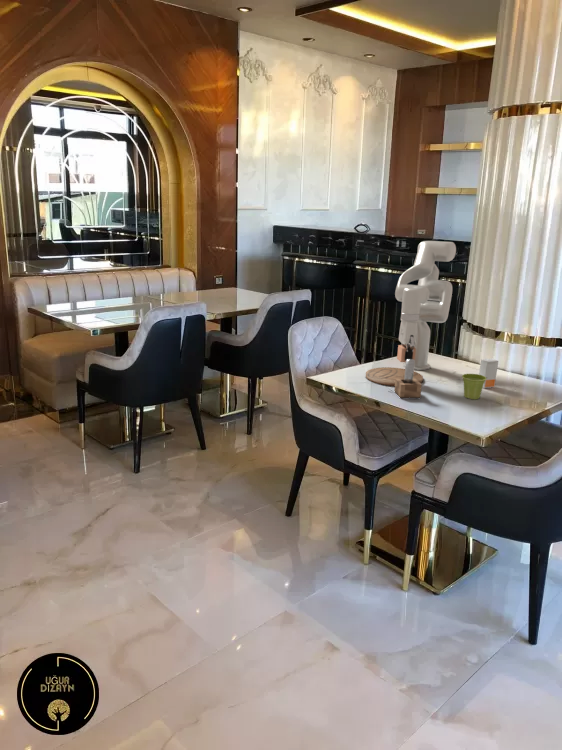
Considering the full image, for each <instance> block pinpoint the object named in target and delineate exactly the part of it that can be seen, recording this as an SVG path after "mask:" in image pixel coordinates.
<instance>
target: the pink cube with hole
mask: <svg viewBox="0 0 562 750" xmlns="http://www.w3.org/2000/svg"><path fill="white" fill-rule="evenodd" d="M397 346H398V347H397V355H396V356H397V357H396V359H397V360H398V361H399V362H400V363H404V362H406V361H405V351H406V345H401V344H398V345H397ZM408 348H409V346H408ZM415 354H416V348H415V347H414V349H413V358H412V359H414V360H415Z"/></svg>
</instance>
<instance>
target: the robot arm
mask: <svg viewBox="0 0 562 750" xmlns="http://www.w3.org/2000/svg"><path fill="white" fill-rule="evenodd" d="M456 253H457V246H456V244H455V242H453V241H438V240H423V241H421V242H420V243H419V244H418V245H417V253H416V256H415V259H414V262H413V266H411V267H409V268H408V269H406V270H405V271H404V272H403V273H402V274H401V275H400V276H399V278H398V280H397V284H396V287H395V292H394V295H395V296H394V297H395V299H396V300H397V301H398V302H401V309H400V310H401V313H400V321H401V322H400V326H399V334H398V341H399V342H400V343H401V344H400V345H406V351H405V361H406V359H412V358H413V349H414V347H415V348H416V354H415V364H414V371H424V370H425V371H426V370H429V369H431V364H430V363H428V361H429V360H428V359H429V349H430V339H431V329H430V326H429V325H428V323H427V322H429V323H439V324H442V323H445V322H446V321H447V320H448V317H449V312H450V306H451V302H452V297H453V295H452V294H453V284H452V283H451V281H448V280H441V279H439V274H440V269H439V268H438V266H437V264H435V262H444V263H445V262H450V261H453V259H455V257H456ZM414 281H418V283H417V284H410V283H411V282H414ZM408 346H409V348H408ZM402 363H403V364H402V366H403V367H404V368H405V366H406V362H402Z"/></svg>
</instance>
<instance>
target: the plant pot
mask: <svg viewBox="0 0 562 750" xmlns="http://www.w3.org/2000/svg"><path fill="white" fill-rule="evenodd" d="M461 378H462V381H463V397H465V399H470V400H479V399H480V398H481V394H482V390H483V389H484V388H483V384H484V382H485V380H486V377H485V376H482V375H479V373H478V374H477V373H463V374H461Z"/></svg>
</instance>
